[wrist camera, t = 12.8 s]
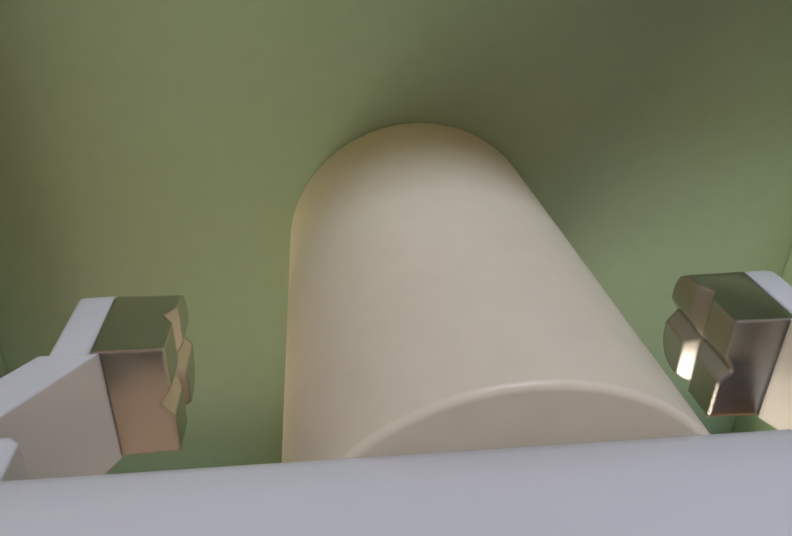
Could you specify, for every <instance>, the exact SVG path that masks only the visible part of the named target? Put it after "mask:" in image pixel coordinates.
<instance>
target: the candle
mask: <svg viewBox="0 0 792 536" xmlns="http://www.w3.org/2000/svg"><path fill="white" fill-rule="evenodd" d="M706 434H710V433H709V432H708V430H707V429H706V428H705V426H704V425H703V424H702V422H701V421H700V419H699V418H698V417H697V415H696V414H695V413H694V411H693V410H692V409H691V407H690V406H689V405H688V403H687V402H686V400H685V399H684V398H683V396H682V395H681V394H680V392H679V391H678V390H677V388H676V387H675V386H674V384H673V383H672V381H671V380H670V379H669V377H668V376H667V375H666V373H665V372H664V371H663V369H662V368H661V367H660V365H659V364H658V362H657V361H656V360H655V358H654V357H653V356H652V354H651V353H650V352H649V350H648V349H647V347H646V346H645V345H644V343H643V342H642V341H641V339H640V338H639V337H638V335H637V334H636V333H635V331H634V330H633V328H632V327H631V326H630V324H629V323H628V322H627V320H626V319H625V318H624V316H623V315H622V314H621V312H620V311H619V309H618V308H617V307H616V305H615V304H614V303H613V301H612V300H611V299H610V297H609V296H608V295H607V293H606V292H605V290H604V289H603V288H602V286H601V285H600V284H599V282H598V281H597V280H596V278H595V277H594V275H593V274H592V273H591V271H590V270H589V269H588V267H587V266H586V265H585V263H584V262H583V261H582V259H581V258H580V256H579V255H578V254H577V252H576V251H575V250H574V248H573V247H572V246H571V244H570V243H569V242H568V240H567V239H566V237H565V236H564V235H563V233H562V232H561V231H560V229H559V228H558V227H557V225H556V224H555V223H554V221H553V220H552V218H551V217H550V216H549V214H548V213H547V212H546V210H545V209H544V208H543V206H542V205H541V203H540V202H539V201H538V199H537V198H536V197H535V195H534V194H533V193H532V191H531V190H530V189H529V187H528V186H527V184H526V183H525V182H524V180H523V179H522V178H521V176H520V175H519V174H518V172H517V171H516V170H515V168H514V167H513V166H512V165H511V163H510V162H509V161H508V160H507V159H506V157H504V156H503V155H502V154H501V153H500V152H499V151H498V150H497V149H496V148H494V147H493V146H491V145H490V144H489V143H487V142H486V141H484V140H483V139H481V138H479V137H477V136H475V135H473V134H471V133H469V132H466V131H463V130H460V129H457V128H454V127H450V126H445V125H439V124H430V123H410V124H399V125H395V126H390V127H385V128H382V129H379V130H376V131H373V132H370V133H367V134H365V135H363V136H361V137H359V138H357V139H355V140H353V141H351V142H350V143H348V144H347V145H345V146H344V147H342V148H341V149H339V150H338V151H336V152H335V153H334V154H333V155H332V156H331V157H330V158H328V159H327V160H326V161H325V162H324V163H323V164H322V165H321V166H320V168H319V169H318V170H317V171H316V172H315V173H314V174H313V176H312V177H311V179H310V180H309V182H308V183H307V185H306V187H305V188H304V190H303V192H302V194H301V196H300V198H299V201H298V203H297V206H296V209H295V212H294V216H293V220H292V227H291V236H290V261H289V287H288V312H287V337H286V363H285V388H284V413H283V439H282V463H284V462H299V461H314V460H329V459H344V458H362V457H377V456H393V455H408V454H423V453H438V452H454V451H469V450H484V449H499V448H515V447H530V446H545V445H560V444H576V443H591V442H606V441H621V440H637V439H652V438H667V437H682V436H696V435H706Z"/></svg>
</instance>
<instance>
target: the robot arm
mask: <svg viewBox="0 0 792 536" xmlns="http://www.w3.org/2000/svg"><path fill="white" fill-rule="evenodd" d="M672 300H673V302H674V304H675V306H676V307H677V310H676V311H675V312H674V313H673V314H672V315H671V316H670V317H669V318H668V319H667V320H666V324H665V329H664V334H663V345H664V354H665V356H666V359H667V362H668V364H669V366H670V367H671V368H672V370H673V371H674V372H675V374H677V375H679V376H681V377H682V378H684V379H686V380H688V381H690V386H689V389H688V391H689V392H690V394H691V395H692V396H693V398H694V399H695V400H696V402H697V403H698V404H699V406H700V407H701V408H702V410H703V411H704V412H705V413H706V415H707V416H708V417H718V416H746V415H758V418H760V419H761V420H763V421H765V422H766V423H768V424H769V425H771V426H772V427H774V428H776V429H777V430H766V431H751V432H736V433H721V434H706V435H696V436H682V437H667V438H652V439H637V440H621V441H606V442H591V443H576V444H560V445H545V446H530V447H515V448H499V449H484V450H469V451H454V452H438V453H423V454H408V455H393V456H377V457H362V458H344V459H329V460H314V461H299V462H284V463H269V464H254V465H239V466H224V467H209V468H194V469H179V470H163V471H148V472H133V473H118V474H107V473H108V472H109V471H110V470H111V469H112V468H113V467H114V466H115V465H116V464H117V463H118V462H119V461H120V460H121V459H122V455H133V454H144V453H155V452H167V451H178V450H181V446H182V442H183V437H184V433H185V429H186V424H187V414H186V407H185V406H186V405H187V404H189V403H190V402H191V401H192V397H193V391H194V381H195V361H194V351H193V343H192V342H191V341H190V340H189V339H187V338H186V337H185V334H186V330H187V326H188V322H189V316H188V311H187V305H186V301H185V299H184V296H183V295H169V296H124V297H116V296H109V297H93V298H84V299H81V300H80V301H79V302H78V304H77V306H76V307H75V309H74V311H73V313H72V315H71V316H70V318H69V320H68V322H67V324H66V326H65V327H64V329H63V331H62V333H61V335H60V337H59V338H58V340H57V342H56V344H55V346H54V348H53V349H52V351H51V353H50V355H49V356H39V357H37V358H35V359H33V360H32V361H30V362H28V363H26V364H25V365H23V366H21V367H19V368H18V369H16V370H14V371H12V372H10V373H9V374H7V375H5V376H3V377H2V378H0V536H792V286H790V285H789V284H788V283H787V282H786V281H784V280H783V279H782V278H781V277H780V276H778V275H777V274H776V273H775V272H772V271H768V270H758V271H746V272H730V273H715V274H699V275H687V276H680V278H679V279H678V281H677V283H676V284H675V287H674V290H673V294H672Z"/></svg>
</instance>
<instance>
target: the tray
mask: <svg viewBox="0 0 792 536" xmlns="http://www.w3.org/2000/svg"><path fill="white" fill-rule="evenodd" d="M410 123H430V124H439V125H445V126H450V127H454V128H457V129H460V130H463V131H466V132H469V133H471V134H473V135H475V136H477V137H479V138H481V139H483V140H484V141H486V142H487V143H489V144H490V145H491V146H493V147H494V148H496V149H497V150H498V151H499V152H500V153H501V154H502V155H503V156H504V157H506V159H507V160H508V161H509V162H510V163H511V165H512V166H513V167H514V168H515V170H516V171H517V172H518V174H519V175H520V176H521V178H522V179H523V180H524V182H525V183H526V184H527V186H528V187H529V189H530V190H531V191H532V193H533V194H534V195H535V197H536V198H537V199H538V201H539V202H540V203H541V205H542V206H543V208H544V209H545V210H546V212H547V213H548V214H549V216H550V217H551V218H552V220H553V221H554V223H555V224H556V225H557V227H558V228H559V229H560V231H561V232H562V233H563V235H564V236H565V237H566V239H567V240H568V242H569V243H570V244H571V246H572V247H573V248H574V250H575V251H576V252H577V254H578V255H579V256H580V258H581V259H582V261H583V262H584V263H585V265H586V266H587V267H588V269H589V270H590V271H591V273H592V274H593V275H594V277H595V278H596V280H597V281H598V282H599V284H600V285H601V286H602V288H603V289H604V290H605V292H606V293H607V295H608V296H609V297H610V299H611V300H612V301H613V303H614V304H615V305H616V307H617V308H618V309H619V311H620V312H621V314H622V315H623V316H624V318H625V319H626V320H627V322H628V323H629V324H630V326H631V327H632V328H633V330H634V331H635V333H636V334H637V335H638V337H639V338H640V339H641V341H642V342H643V343H644V345H645V346H646V347H647V349H648V350H649V352H650V353H651V354H652V356H653V357H654V358H655V360H656V361H657V362H658V364H659V365H660V367H661V368H662V369H663V371H664V372H665V373H666V375H667V376H668V377H669V379H670V380H671V381H672V383H673V384H674V386H675V387H676V388H677V390H678V391H679V392H680V394H681V395H682V396H683V398H684V399H685V400H686V402H687V403H688V405H689V406H690V407H691V409H692V410H693V411H694V413H695V414H696V415H697V417H698V418H699V419H700V421H701V422H702V424H703V425H704V426H705V428H706V429H707V430H708V432H709V433H710V434H721V433H736V432H751V431H766V430H777V429H776V428H774V427H772V426H771V425H769V424H768V423H766V422H765V421H763V420H761V419H760V418H758V415H746V416H718V417H708V416H707V415H706V413H705V412H704V411H703V410H702V408H701V407H700V406H699V404H698V403H697V402H696V400H695V399H694V398H693V396H692V395H691V394H690V392H689V391H688V389H689V386H690V381H688V380H686V379H684V378H682V377H681V376H679V375H677V374H675V372H674V371H673V370H672V368H671V367H670V366H669V364H668V362H667V359H666V356H665V354H664V345H663V334H664V329H665V324H666V320H667V319H668V318H669V317H670V316H671V315H672V314H673V313H674V312H675V311H676V310H677V307H676V306H675V304H674V302H673V300H672V294H673V290H674V287H675V284H676V283H677V281H678V279H679V278H680V276H687V275H699V274H715V273H730V272H746V271H758V270H768V271H772V272H775V273H776V274H777V275H778V276H780V277H781V278H782V279H783V280H784V281H786V282H787V283H788V284H789V285H790V286H792V0H0V378H2V377H3V376H5V375H7V374H9V373H10V372H12V371H14V370H16V369H18V368H19V367H21V366H23V365H25V364H26V363H28V362H30V361H32V360H33V359H35V358H37V357H39V356H49V355H50V353H51V351H52V349H53V348H54V346H55V344H56V342H57V340H58V338H59V337H60V335H61V333H62V331H63V329H64V327H65V326H66V324H67V322H68V320H69V318H70V316H71V315H72V313H73V311H74V309H75V307H76V306H77V304H78V302H79V301H80V300H81V299H84V298H93V297H109V296H116V297H124V296H169V295H183V296H184V299H185V301H186V305H187V311H188V316H189V322H188V326H187V330H186V334H185V337H186V338H187V339H189V340H190V341H191V342H192V343H193V351H194V361H195V381H194V391H193V397H192V401H191V402H190V403H189V404H187V405H186V406H185V407H186V414H187V424H186V429H185V433H184V437H183V442H182V446H181V450H178V451H167V452H155V453H144V454H133V455H122V459H121V460H120V461H119V462H118V463H117V464H116V465H115V466H114V467H113V468H112V469H111V470H110V471H109V472H108V473H107V474H118V473H133V472H148V471H163V470H179V469H194V468H209V467H224V466H239V465H254V464H269V463H282V439H283V413H284V388H285V363H286V337H287V312H288V287H289V261H290V236H291V227H292V220H293V216H294V212H295V209H296V206H297V203H298V201H299V198H300V196H301V194H302V192H303V190H304V188H305V187H306V185H307V183H308V182H309V180H310V179H311V177H312V176H313V174H314V173H315V172H316V171H317V170H318V169H319V168H320V166H321V165H322V164H323V163H324V162H325V161H326V160H327V159H328V158H330V157H331V156H332V155H333V154H334V153H335V152H336V151H338V150H339V149H341V148H342V147H344V146H345V145H347V144H348V143H350V142H351V141H353V140H355V139H357V138H359V137H361V136H363V135H365V134H367V133H370V132H373V131H376V130H379V129H382V128H385V127H390V126H395V125H399V124H410Z"/></svg>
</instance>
